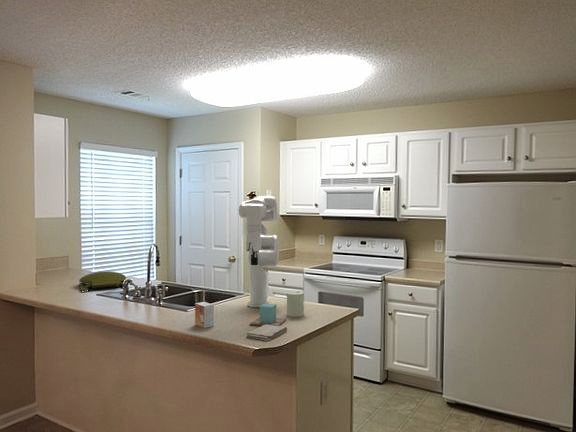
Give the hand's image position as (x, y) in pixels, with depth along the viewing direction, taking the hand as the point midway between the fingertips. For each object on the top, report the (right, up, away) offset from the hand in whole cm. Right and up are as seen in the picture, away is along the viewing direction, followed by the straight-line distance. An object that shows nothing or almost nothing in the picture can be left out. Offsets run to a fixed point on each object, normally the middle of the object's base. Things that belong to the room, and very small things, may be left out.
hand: (254, 264), depth 231 cm
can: (+21, -27, +7) cm, 35 cm away
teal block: (+7, -26, -9) cm, 29 cm away
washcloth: (+8, -29, -27) cm, 40 cm away
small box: (-23, -28, -13) cm, 38 cm away
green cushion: (-112, -25, +87) cm, 144 cm away
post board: (+7, -27, -9) cm, 30 cm away
